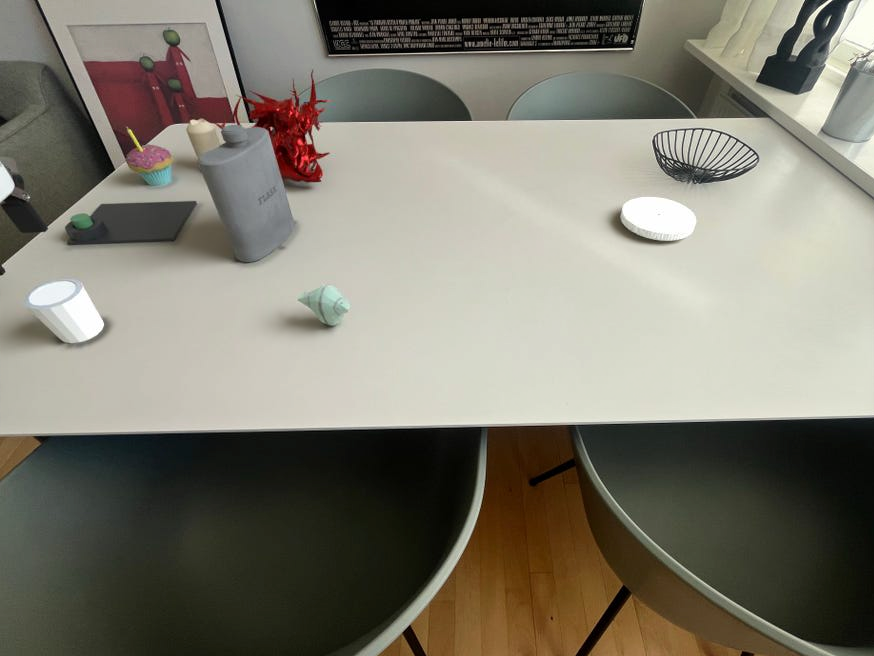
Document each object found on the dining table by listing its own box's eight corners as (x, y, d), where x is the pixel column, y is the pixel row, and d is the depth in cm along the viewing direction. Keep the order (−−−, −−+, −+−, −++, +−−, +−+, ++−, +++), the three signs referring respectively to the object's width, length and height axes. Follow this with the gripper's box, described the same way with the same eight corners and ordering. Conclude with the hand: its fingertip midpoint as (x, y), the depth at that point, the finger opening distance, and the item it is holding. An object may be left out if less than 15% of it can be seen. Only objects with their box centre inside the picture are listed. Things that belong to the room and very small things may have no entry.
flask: (260, 266, 83) (217, 149, 68) (230, 260, 84) (182, 144, 69) (303, 223, 93) (274, 113, 78) (276, 218, 94) (242, 109, 79)
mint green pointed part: (302, 327, 72) (290, 291, 67) (315, 310, 75) (305, 274, 70) (351, 337, 71) (343, 301, 66) (363, 319, 74) (355, 284, 69)
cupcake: (170, 190, 101) (143, 131, 92) (129, 189, 101) (98, 130, 92) (187, 171, 107) (162, 114, 98) (148, 171, 107) (120, 114, 98)
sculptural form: (307, 152, 90) (363, 82, 99) (185, 96, 90) (253, 30, 99) (320, 220, 109) (367, 156, 118) (220, 174, 109) (274, 112, 118)
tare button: (72, 230, 86) (66, 221, 84) (80, 222, 88) (74, 213, 86) (89, 229, 86) (83, 220, 85) (96, 221, 88) (91, 212, 86)
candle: (196, 170, 107) (177, 124, 100) (211, 160, 111) (194, 114, 104) (218, 173, 106) (200, 126, 99) (233, 163, 110) (216, 117, 103)
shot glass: (117, 314, 73) (91, 277, 68) (93, 346, 69) (64, 308, 64) (71, 315, 73) (41, 277, 68) (44, 346, 68) (10, 308, 63)
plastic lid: (664, 204, 101) (667, 192, 99) (707, 238, 92) (711, 226, 90) (606, 214, 98) (608, 202, 96) (644, 250, 89) (648, 238, 87)
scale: (66, 245, 86) (58, 233, 84) (101, 207, 96) (94, 195, 94) (174, 241, 87) (168, 229, 86) (197, 204, 97) (192, 192, 95)
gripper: (-83, 80, 54) (21, 218, 66) (-223, 141, 42) (-65, 296, 54) (-11, 78, 54) (78, 215, 67) (-129, 138, 42) (7, 292, 55)
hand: (14, 251), depth 60 cm, fingers open, 9 cm apart
